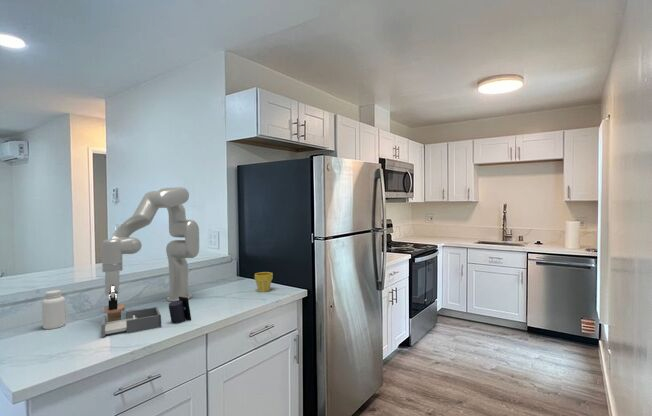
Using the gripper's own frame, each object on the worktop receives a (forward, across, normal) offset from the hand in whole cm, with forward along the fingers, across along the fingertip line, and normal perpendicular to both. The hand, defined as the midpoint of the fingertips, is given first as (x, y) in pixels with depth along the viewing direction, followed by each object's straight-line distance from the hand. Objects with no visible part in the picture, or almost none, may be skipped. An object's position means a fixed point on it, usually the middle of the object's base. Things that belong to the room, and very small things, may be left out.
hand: (113, 307), depth 154 cm
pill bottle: (+7, -9, -22) cm, 25 cm away
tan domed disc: (+2, 0, 0) cm, 2 cm away
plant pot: (+6, -14, +74) cm, 76 cm away
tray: (+7, +12, +4) cm, 14 cm away
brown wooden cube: (+7, 0, 0) cm, 7 cm away
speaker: (+7, +16, +24) cm, 30 cm away
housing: (+7, +12, +10) cm, 17 cm away
